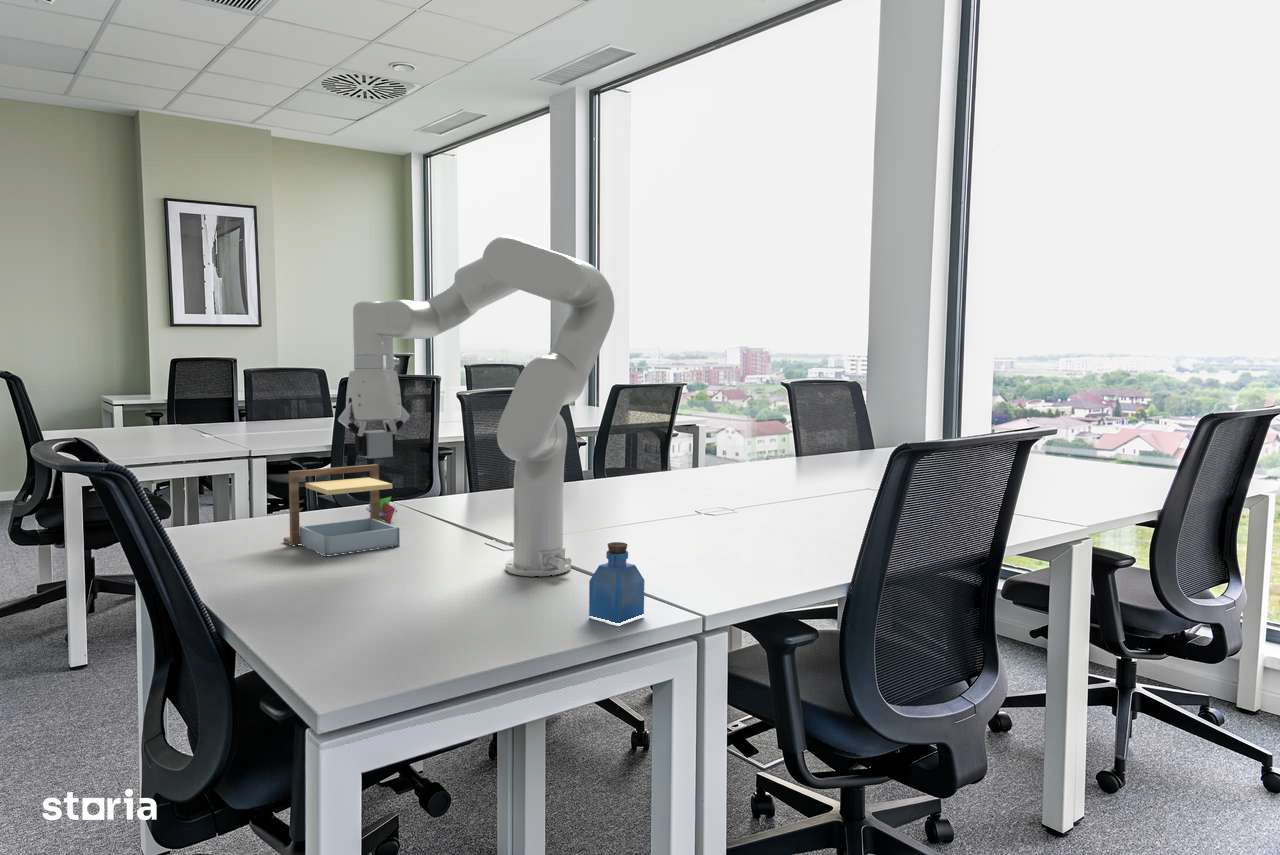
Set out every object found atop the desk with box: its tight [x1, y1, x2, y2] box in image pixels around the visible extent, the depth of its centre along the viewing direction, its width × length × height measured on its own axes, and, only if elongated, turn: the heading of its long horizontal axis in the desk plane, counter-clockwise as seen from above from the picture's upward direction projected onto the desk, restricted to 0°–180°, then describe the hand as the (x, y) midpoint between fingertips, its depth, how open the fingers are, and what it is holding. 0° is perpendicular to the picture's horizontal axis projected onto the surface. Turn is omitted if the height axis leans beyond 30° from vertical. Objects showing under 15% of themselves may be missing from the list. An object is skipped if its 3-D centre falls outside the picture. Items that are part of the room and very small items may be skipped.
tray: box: [299, 517, 401, 556], centre depth 183 cm, size 14×16×4 cm
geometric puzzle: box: [365, 495, 398, 524], centre depth 208 cm, size 7×7×8 cm
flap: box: [304, 476, 393, 496], centre depth 182 cm, size 12×14×1 cm
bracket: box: [283, 463, 380, 545], centre depth 189 cm, size 6×20×16 cm, turn 132°
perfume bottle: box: [588, 541, 645, 623], centre depth 136 cm, size 6×6×12 cm
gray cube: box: [357, 429, 394, 459], centre depth 172 cm, size 5×5×5 cm
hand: (375, 453), depth 172 cm, fingers closed on gray cube, 5 cm apart
